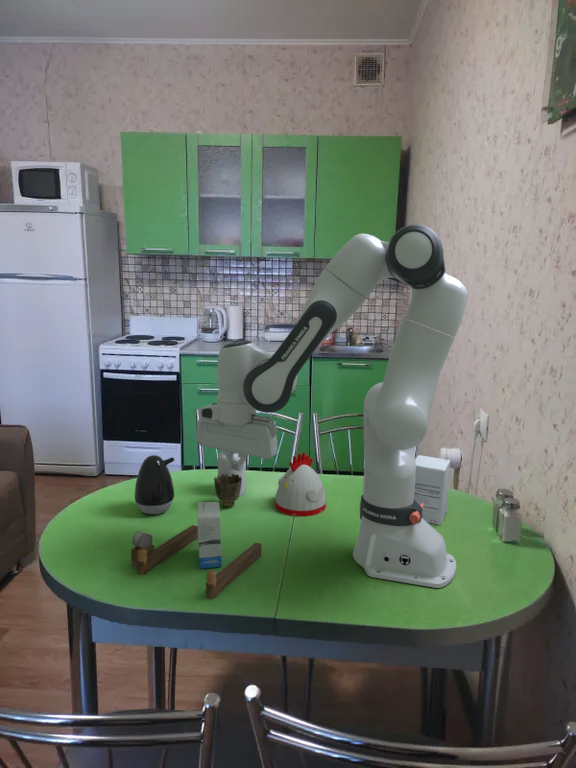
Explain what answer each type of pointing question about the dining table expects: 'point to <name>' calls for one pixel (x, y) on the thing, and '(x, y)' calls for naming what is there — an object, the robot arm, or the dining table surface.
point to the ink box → (209, 535)
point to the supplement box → (432, 487)
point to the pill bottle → (224, 469)
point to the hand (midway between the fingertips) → (236, 469)
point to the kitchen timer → (300, 489)
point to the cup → (227, 489)
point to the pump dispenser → (154, 486)
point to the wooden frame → (150, 557)
